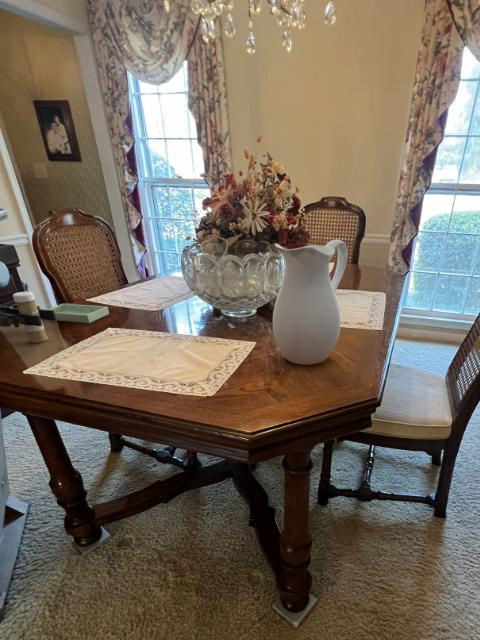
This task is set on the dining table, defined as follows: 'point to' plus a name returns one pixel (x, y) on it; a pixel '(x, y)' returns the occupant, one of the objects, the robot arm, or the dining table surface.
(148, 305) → the dining table surface
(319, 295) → the pitcher
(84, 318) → the tray
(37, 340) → the sprinkles bottle
